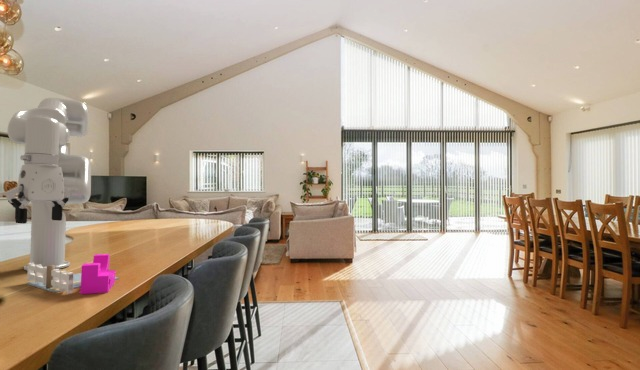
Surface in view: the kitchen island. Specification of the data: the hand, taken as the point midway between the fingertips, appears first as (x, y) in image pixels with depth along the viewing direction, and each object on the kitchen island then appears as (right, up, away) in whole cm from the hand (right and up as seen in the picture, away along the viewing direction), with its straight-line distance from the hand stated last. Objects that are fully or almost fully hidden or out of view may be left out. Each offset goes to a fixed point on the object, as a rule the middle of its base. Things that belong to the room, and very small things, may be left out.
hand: (39, 221), depth 99 cm
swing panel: (-2, -18, +1) cm, 18 cm away
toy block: (+16, -19, +2) cm, 25 cm away
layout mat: (+5, -19, +6) cm, 20 cm away
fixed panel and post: (+9, -18, -4) cm, 21 cm away
